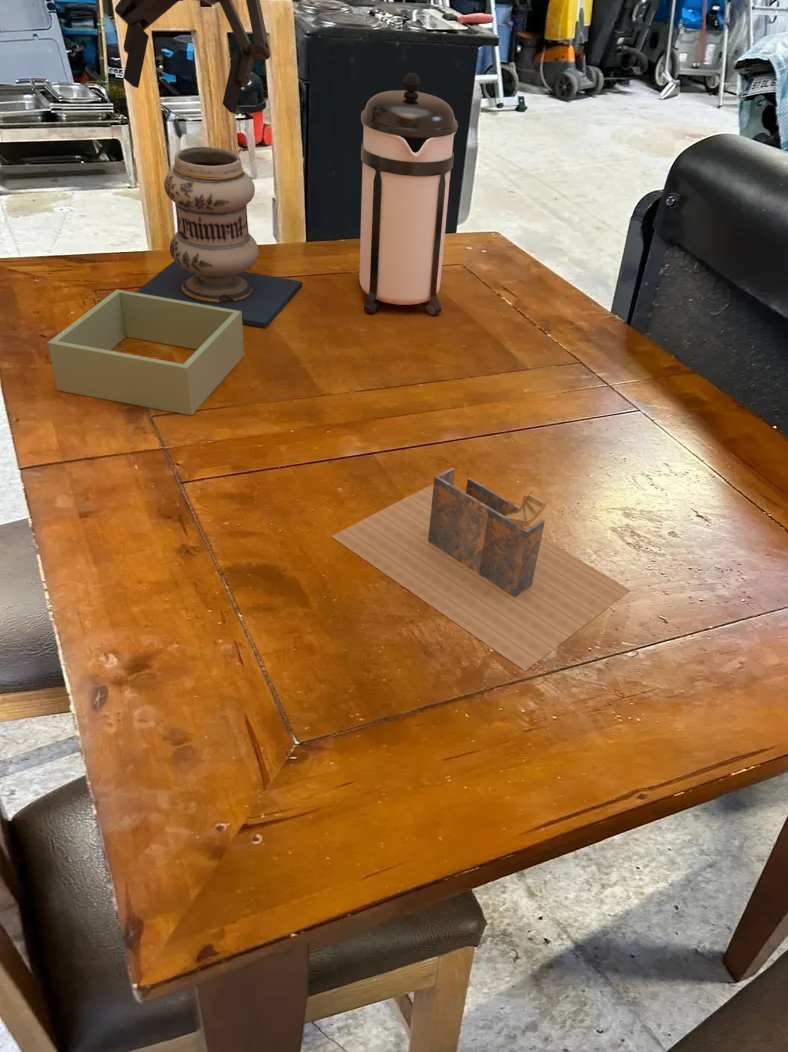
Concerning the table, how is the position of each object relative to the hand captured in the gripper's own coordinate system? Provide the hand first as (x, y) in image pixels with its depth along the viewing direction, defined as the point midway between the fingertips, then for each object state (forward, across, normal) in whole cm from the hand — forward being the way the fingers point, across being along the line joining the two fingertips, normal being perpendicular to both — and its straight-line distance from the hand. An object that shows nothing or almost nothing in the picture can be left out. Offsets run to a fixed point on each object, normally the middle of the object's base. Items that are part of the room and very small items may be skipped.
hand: (179, 96), depth 115 cm
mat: (+22, -7, -10) cm, 25 cm away
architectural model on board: (+44, -56, +32) cm, 78 cm away
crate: (+35, -10, +11) cm, 38 cm away
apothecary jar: (+21, -7, -10) cm, 24 cm away
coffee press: (+15, -30, -19) cm, 38 cm away
